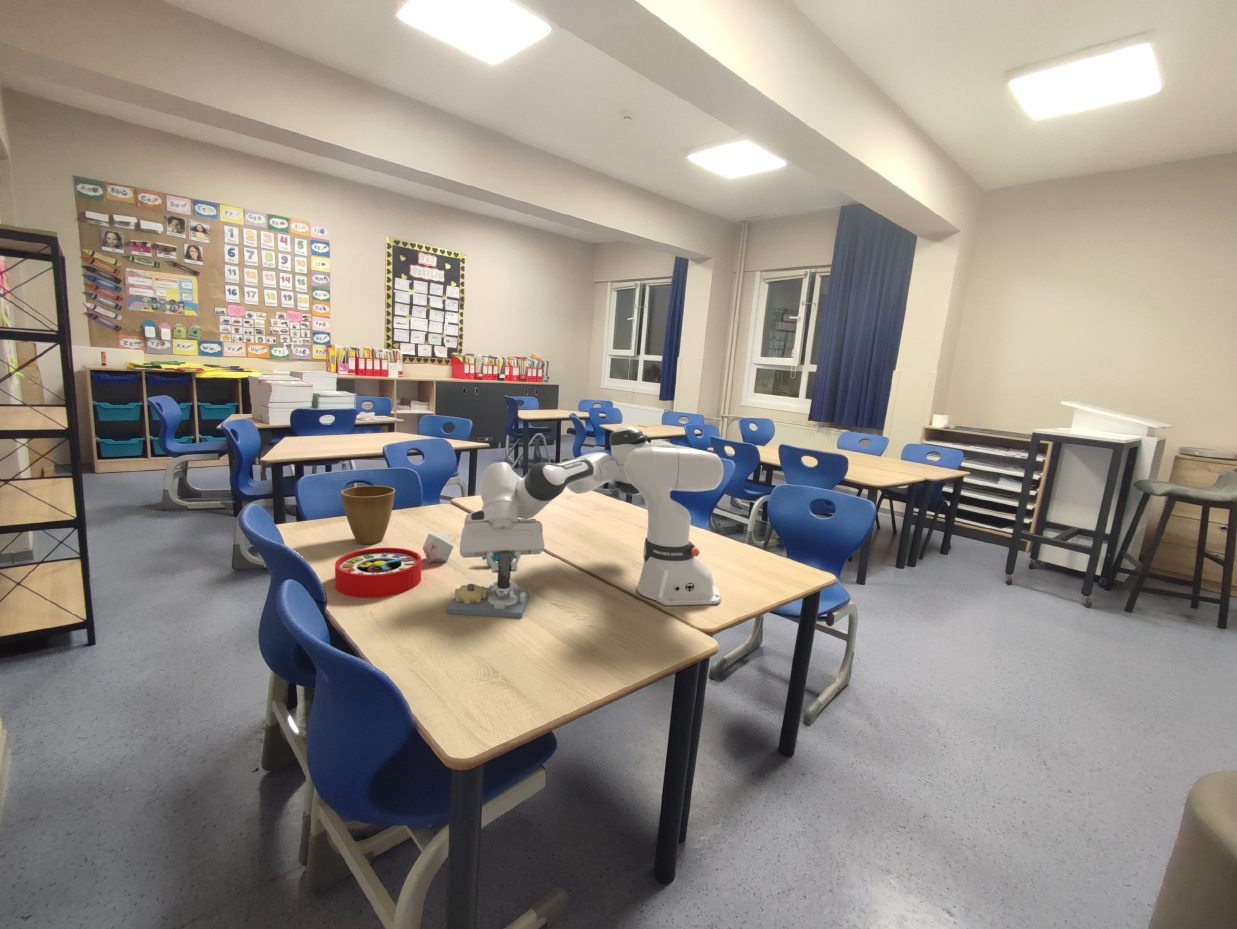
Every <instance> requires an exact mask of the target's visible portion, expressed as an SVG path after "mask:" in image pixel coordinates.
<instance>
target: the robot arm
mask: <svg viewBox="0 0 1237 929" xmlns="http://www.w3.org/2000/svg"><path fill="white" fill-rule="evenodd" d="M647 438H649V436H648V435H647V434H644V433H643V431H641V429H639V428H638V427H635V426H631V425H630V426H629V425H627V426H625V425H624V426H620V427H618V428H616V429H615V430H614V431H612V432H611V433H610V434H609V446H610V452H611V456H610V455H609V454H608V453H606V452H599V451H598V452H591V453H587V454H584V455H581V456H578V457H575V458H572V459H567V460H564V461H561V462H547V461H545V462H544V461H540V462H537V463H535V464H533V465H532V466H531V468H530V469H529V470H528V471H527V473H526V474H525V475H524V476H523V477H521V476H520V475H518V474H517V473H516V472H515V471H514V470H513V469H512V467H511V465H510V464H509V463H508V462H506V461H505V462H504V461H501V462H500V461H499V462H494V463H492V464H489V465H488V466H487V467H486V468H485V469H484V470H483V471H482V474H481V478H480V498H481V499H482V508H481V509H480V510H477V511H473V512H469V513H468V514H466V516H465V519H464V523H463V525H464V526H463V528H462V530H461V536H460V544H459V556H461V557H462V558H464V559H465V558H466V559H467V558H468V559H470V558H482V557H486V559H485V561H486V563H487V562H488V564H489V565H490V567H491V573H492V574H495V573H497V574H498V571H499V567H498V562H495V561H493V560H492V558H493V556H498V553H499V552H500V551H510V552H511V555H514V558H513V559H514V561H512V562H511V573H512V572H514V573H515V572H516V573H517V572H518V563H519V560H520V559H521V556H529V555H540V554H541V553H542V552H543V551H544V549H545V539H544V536H543V531H544V530H543V523H542V522H541V521H539V520H537V519H535V518H534V517H535V516H537V515H538V514H539V513H541V511H542V510H544V508H546V506H548V504H550V503H551V502H552V501H553V500H554V499H556V498H557V497H559V496H560V495H561V494H562V493H563V492H564V490H565V488H567V489H569V491H570V492H572V493H574V494H577V495H579V494H580V495H581V494H584V493H585V494H586V493H589V492H591V491H594V490H595V489H598V488H600V487H601V486H603V485H604V484H606V483H610V482H614V483H613V484H612V487H613V489H614V488H615V489H617V490H619V492H621V493H623V494H625V495H626V496H627V495H628V496H629V495H630V496H638V495H641V496H642V498H643V500H644V502H645V505H646V509H647V534H646V537H645V540H644V545H643V559H644V560H643V564H642V570H641V572H640V577H639V578H638V582H637V585H636V588H635V589H636V590H637V592H638V593H639V594H640V595H641V596H644V597H646V598H649V599H651V600H655V601H656V602H659V603H660V604H662V605H664V606H688V605H689V606H693V605H695V606H697V605H717V603H718V604H719V603H720V602H721V600H722V597H721V596H722V595H721V591H720V590H719V587H718V586H717V585H716V584H714V580H713V579H714V578H713V575H712V572H711V570H710V569H709V568H708V567H707V566H706V565H705V564H704V563H703V562H702V561H700V559H698V558H697V557H698V556H699V555H700V550H699V549H698V547H696V545H695V544H694V543H693V542H692V541H691V540H690V541H689V539H690V529H691V519H692V518H691V514H690V512H689V510H688V509H687V508H686V506H683V505H682V504H681V503H679V502H677V501H675V500H673V499H672V498H671V492H672V491H678V492H694V493H695V492H696V493H697V492H706V491H712V490H716V489H717V488H718V487H719V485H720V484H721V483H722V481H723V479H724V478H723V477H724V472H725V470H724V469H725V468H724V464H723V462H722V459H721V457H720V456H719V455H718V454H717V453H714V452H710V451H706V450H701V449H698V448H693V447H688V446H683V445H677V444H673V443H670V442H669V441H666V440H656V441H653V442H649V441H648V439H647ZM488 564H487V565H488ZM489 565H488V566H489Z"/></svg>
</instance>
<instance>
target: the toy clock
mask: <svg viewBox="0 0 1237 929" xmlns="http://www.w3.org/2000/svg"><path fill="white" fill-rule="evenodd" d="M334 579H335V581H334V585H335V586H334V587H335V590H336V591H337V592H338V593H340V594H342V595H344V596H348V597H351V598H352V597H353V598H360V599H361V598H362V599H363V598H364V599H373V598H374V599H375V598H376V599H377V598H384V597H385V598H386V597H392V596H396V595H399V594H403V593H406V592H409V591H410V590H413V589H414V588H415V587H417V586H419V585H420V584H421V582H422V581H421V580H422V557H421V554H419V553H418V552H416V551H414V550H411V549H408V548H407V549H406V548H402V547H401V548H400V547H374V548H366V549H360V550H357V551H352V552H350V553H346V554H344V555H342V556H341V557H339V558H338V559H336V561H335V563H334Z"/></svg>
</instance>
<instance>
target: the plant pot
mask: <svg viewBox="0 0 1237 929" xmlns="http://www.w3.org/2000/svg"><path fill="white" fill-rule="evenodd" d="M340 493H341V498H342V504H343V508H344V512H345V515H346V518H347V522H348V525H349V527H350V531H351V532H352V535H353V537H354V538H355V541H356V543H358V544H359V545H361V544H362V545H372V544H377V543H378V544H379V543H381V542H382V541H383V540H384V538H385V536H386V532H387V529H388V526H389V523H390V519H391V515H392V510H393V507H394V501H395V493H396V489H395V488H393V487H390V486H385V485H361V486H354V487H352V486H351V487H349V488H345V489H343V490H341V492H340Z"/></svg>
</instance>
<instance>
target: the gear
mask: <svg viewBox="0 0 1237 929" xmlns="http://www.w3.org/2000/svg"><path fill="white" fill-rule="evenodd" d="M497 563H498V567H499V571H498V573H497V581H494V582H493V584H490V585H489V587H488V588H489V593H490V596H492V597H499V598H498V599H503V598H507V597H509V598H511V597H513V595H514V594H516V595H517V591H518V589H519V587H518V585H517V583H515V582H511V573H512V572H511V563H512V562H511V552H510V551H500V552H499V553H498V561H497Z"/></svg>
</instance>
